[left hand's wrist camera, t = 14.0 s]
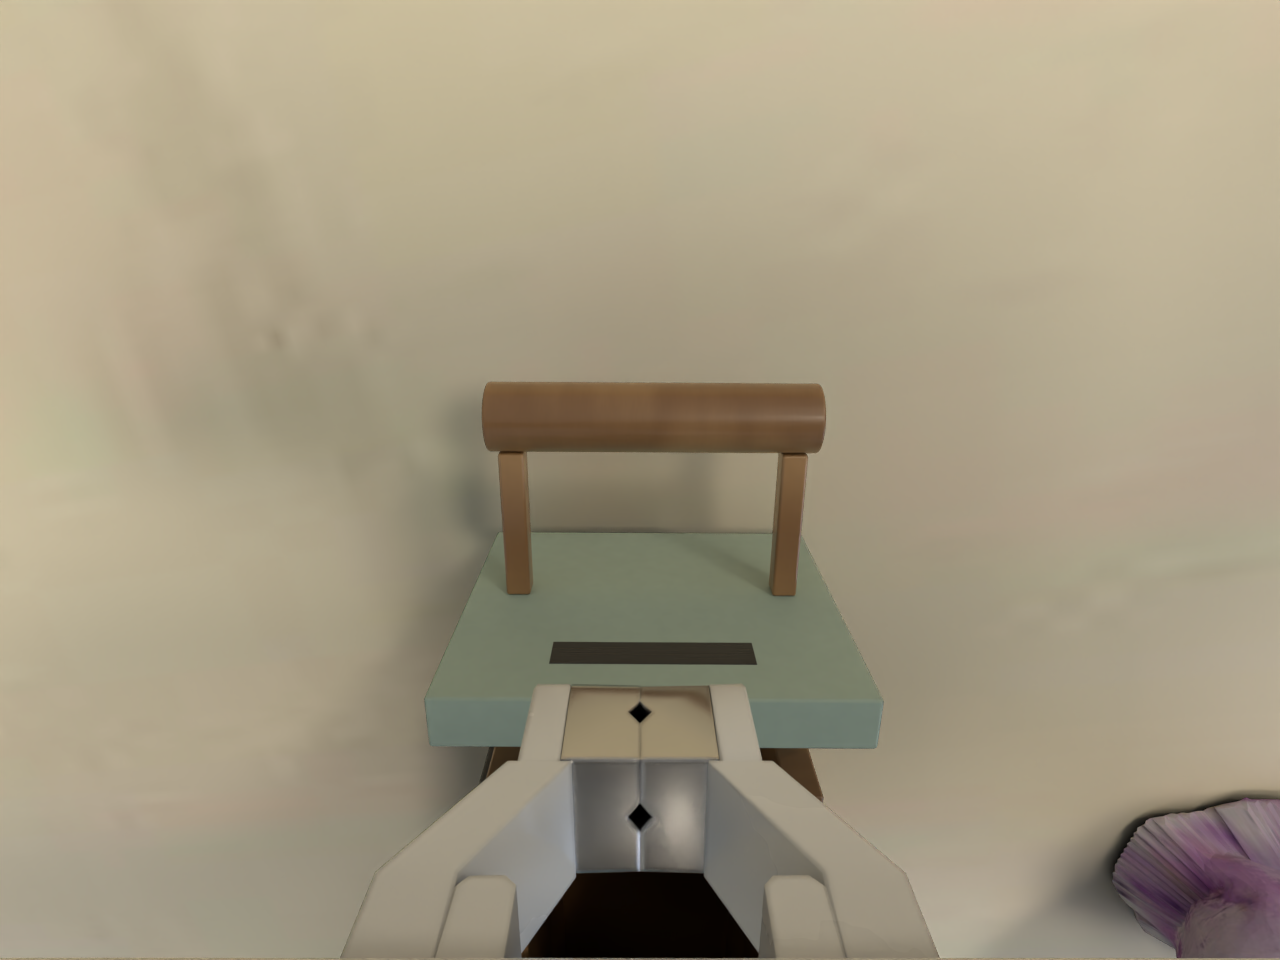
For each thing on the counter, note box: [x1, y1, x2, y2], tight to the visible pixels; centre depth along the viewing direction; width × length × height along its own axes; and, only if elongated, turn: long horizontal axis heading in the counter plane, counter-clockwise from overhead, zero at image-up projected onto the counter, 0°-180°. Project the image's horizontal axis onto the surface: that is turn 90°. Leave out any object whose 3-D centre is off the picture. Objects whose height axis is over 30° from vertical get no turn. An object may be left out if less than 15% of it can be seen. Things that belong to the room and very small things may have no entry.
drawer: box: [424, 382, 884, 958], centre depth 20 cm, size 24×9×8 cm, turn 0°
